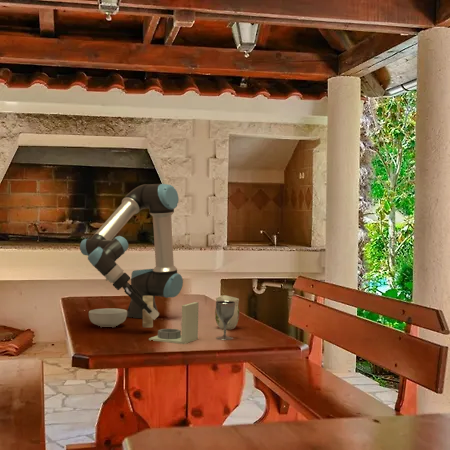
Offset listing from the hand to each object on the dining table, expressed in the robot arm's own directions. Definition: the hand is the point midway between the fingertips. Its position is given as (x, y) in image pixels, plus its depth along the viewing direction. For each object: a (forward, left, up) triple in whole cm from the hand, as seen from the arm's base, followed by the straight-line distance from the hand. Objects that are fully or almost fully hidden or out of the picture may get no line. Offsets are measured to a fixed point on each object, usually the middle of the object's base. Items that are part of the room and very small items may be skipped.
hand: (156, 316), depth 294 cm
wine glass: (+31, +2, -7) cm, 31 cm away
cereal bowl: (-26, +3, -7) cm, 28 cm away
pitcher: (+23, +24, -7) cm, 34 cm away
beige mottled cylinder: (-3, -2, -4) cm, 6 cm away
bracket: (+14, -11, -7) cm, 19 cm away
